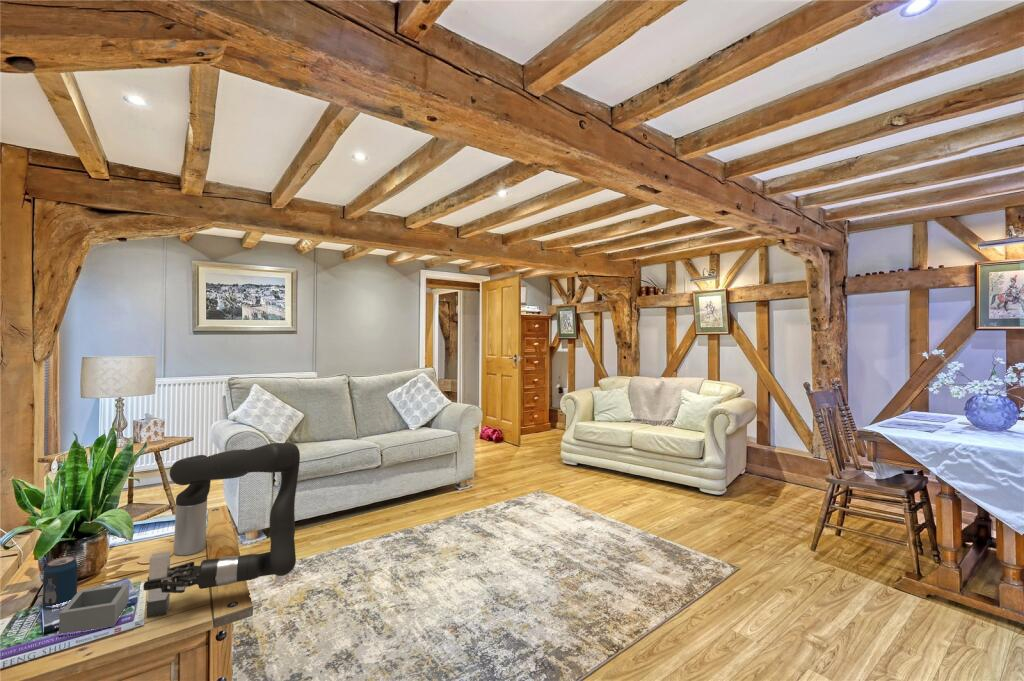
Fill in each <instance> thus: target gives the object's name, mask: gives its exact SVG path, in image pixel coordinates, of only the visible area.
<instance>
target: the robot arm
mask: <svg viewBox="0 0 1024 681" xmlns="http://www.w3.org/2000/svg"><path fill="white" fill-rule="evenodd" d="M300 461H301V454H300V449H299V447H298V446H297V445H296V444H294V443H292V442H271V443H268V444H267V443H266V444H264V445H261V446H257V447H254V448H250V449H244V448H242V449H241V448H240V449H232V450H227V451H223V452H218V453H214V454H211V455H208V456H207V455H205V454H197V455H193V456H189V457H184V458H181V459H179V460H176V461H175V462H174V463H173V464H172V465H171V467H170V470H169V478H170V480H171V481H172V482H173V483H174V484H176V485H178V486H187V487H186V488H185V489H184V490H182V491H181V492H180V493H178V494H177V495H176V497H175V515H174V516H175V517H174V538H173V539H174V541H173V554H174V555H175V556H189V555H194V554H197V553H199V552H202V551H203V550H205V549H206V543H207V542H206V540H207V539H206V537H207V518H208V517H207V512H208V495H209V494H210V490H211V481H216V480H217V481H218V480H229V479H237V478H240V477H243V476H246V475H247V474H248V473H267V474H268V473H271V474H272V473H274V474H275V473H280V475H281V476H280V477H281V479H280V481H281V482H280V487H279V490H278V493H277V495H276V497H275V500H274V502H273V504H272V507H271V509H270V513H269V539H270V549H269V550H270V551H267V552H262V553H252V554H243V555H234V556H232V555H231V556H221V557H217V558H216V557H215V558H208V559H203V560H202V561H201V562H200V565H195V561H190V562H186V563H183V564H180V565H176V566H173V567H172V566H171V567H170V577H169V578H164V579H158V580H152V581H149V575H148V576H147V580H146V581H145V582H143V590H144V591H148V590H152V589H158V588H161V590H162V592H163V593H171V594H183V593H185V592H186V591H185V590H186V588H188V587H192V586H195V585H198V588H199V589H200V590H201V589H202V590H203V589H209V588H214V587H221V586H228V585H230V584H232V585H233V584H235V583H238V582H239V583H240V582H246V581H251V580H256V579H257V578H259V577H267V576H272V575H274V576H278V577H282V576H286V575H288V574H290V573H291V572H292V571H293V570H294V568H295V567H296V563H297V556H296V544H295V543H296V542H295V533H296V525H295V524H296V519H295V516H296V515H295V501H296V493H297V485H298V476H299V469H300V463H301V462H300Z"/></svg>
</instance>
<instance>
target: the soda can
mask: <svg viewBox="0 0 1024 681" xmlns="http://www.w3.org/2000/svg"><path fill="white" fill-rule="evenodd" d="M78 570H79V562H78V561H77V559H76V556H74V555H65V556H59V558H56V559H53V558H52V559H51V560H49V561H48V562H47V564H46V566H45V567H44V568H43V571H44V576H43V575H42V600H41V602H42V605H43V606H44V607H45V606H52V605H56V604H60V603H63V602H66V601H69V600H71V599H72V598H73V597H74V596H75V595H76V594H77V592H78V572H79V571H78Z"/></svg>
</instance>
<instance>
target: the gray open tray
mask: <svg viewBox="0 0 1024 681" xmlns="http://www.w3.org/2000/svg"><path fill="white" fill-rule="evenodd" d="M129 602H130V583H122V584H117V585H109V586H102V587H101V586H100V587H96V588H90V589H83V590H77V594H76V595H75V596H74V597H73V598H72V599H71V601H70V602H69V603H68V604H67V605H65V606H64V608H63V609H62V610H61V611H60V612H59V619H58V620H59V621H58V635H59V634H61V633H67V632H73V631H74V632H76V631H86V630H91V629H97V628H102V627H103V628H104V627H110V626H114V625H115V623H116V621H117V619H118V618H119V616H120V615H121V613H122V612H123V610H124V609H125V607H126V606H127V604H128V603H129ZM129 604H130V603H129ZM129 604H128V605H129ZM127 607H128V606H127ZM125 610H126V609H125ZM123 613H124V612H123ZM115 626H116V625H115Z"/></svg>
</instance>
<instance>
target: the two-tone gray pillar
mask: <svg viewBox="0 0 1024 681" xmlns="http://www.w3.org/2000/svg"><path fill="white" fill-rule="evenodd" d="M148 567H149V568H148V569H149V570H148V576H149V581H152V580H158V579H164V578H169V577H170V568H171V551H164V552H155V553H152V554H151V556H150V558H149V566H148ZM147 591H148V595H147V602H146V614H145V616H146V619H148V618H152V617H158V616H164V615H167V614H168V611H169V609H170V603H171V602H170V600H171V598H170V597H171V594H170V593H163V592H162V590H161V588H158V589H152V590H147Z"/></svg>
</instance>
